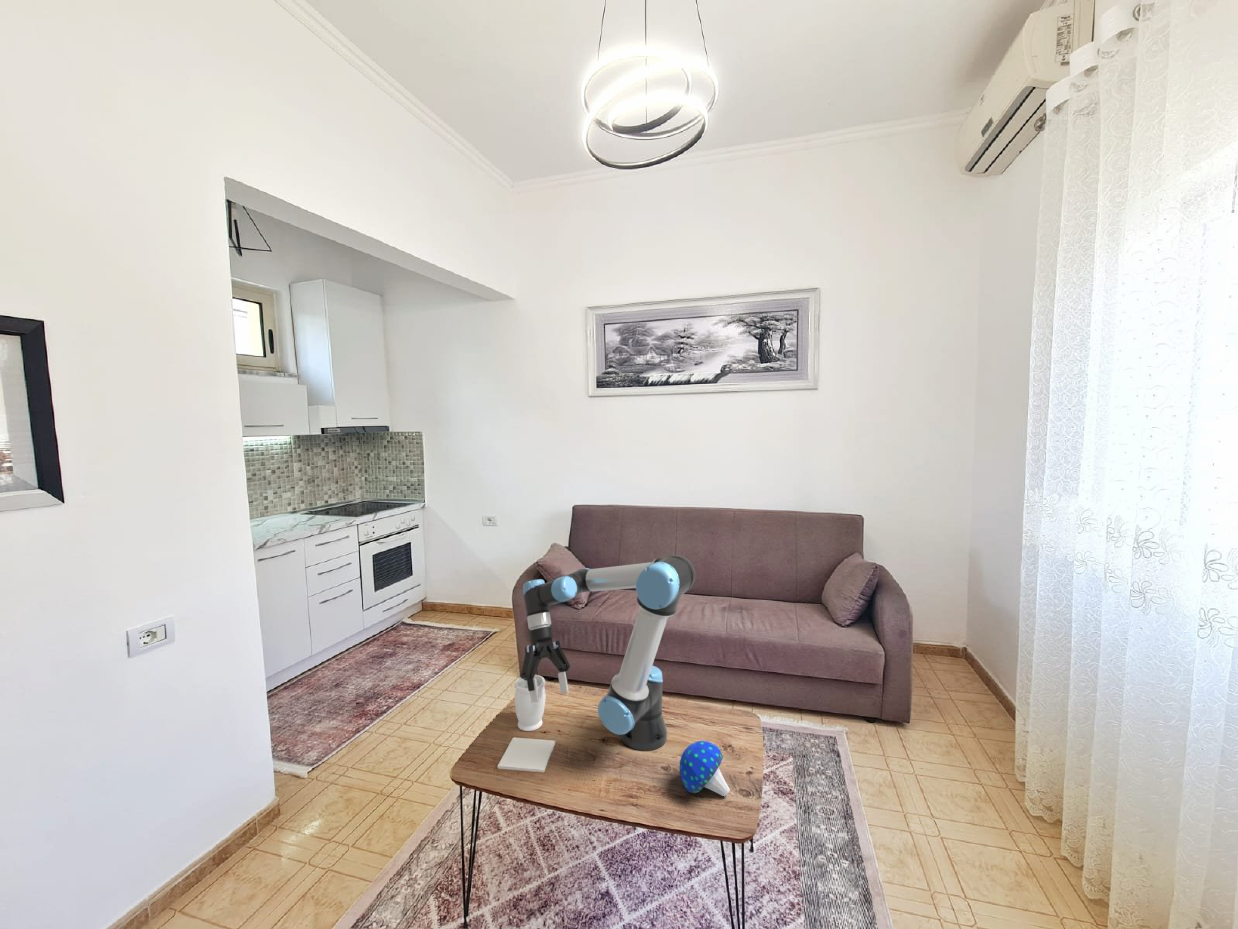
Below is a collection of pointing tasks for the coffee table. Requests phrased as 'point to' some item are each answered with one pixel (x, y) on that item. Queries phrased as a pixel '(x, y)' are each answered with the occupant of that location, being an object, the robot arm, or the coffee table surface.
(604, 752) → the coffee table surface
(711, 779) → the mushroom
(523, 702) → the jar
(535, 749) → the ceramic tile
